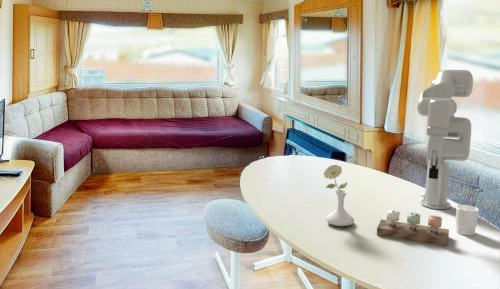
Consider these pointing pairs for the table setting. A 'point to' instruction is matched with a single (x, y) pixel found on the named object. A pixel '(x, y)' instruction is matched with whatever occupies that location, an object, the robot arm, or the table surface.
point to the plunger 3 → (434, 222)
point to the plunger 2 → (413, 219)
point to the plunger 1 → (393, 216)
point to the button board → (413, 233)
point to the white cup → (466, 219)
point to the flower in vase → (339, 215)
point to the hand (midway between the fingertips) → (433, 178)
